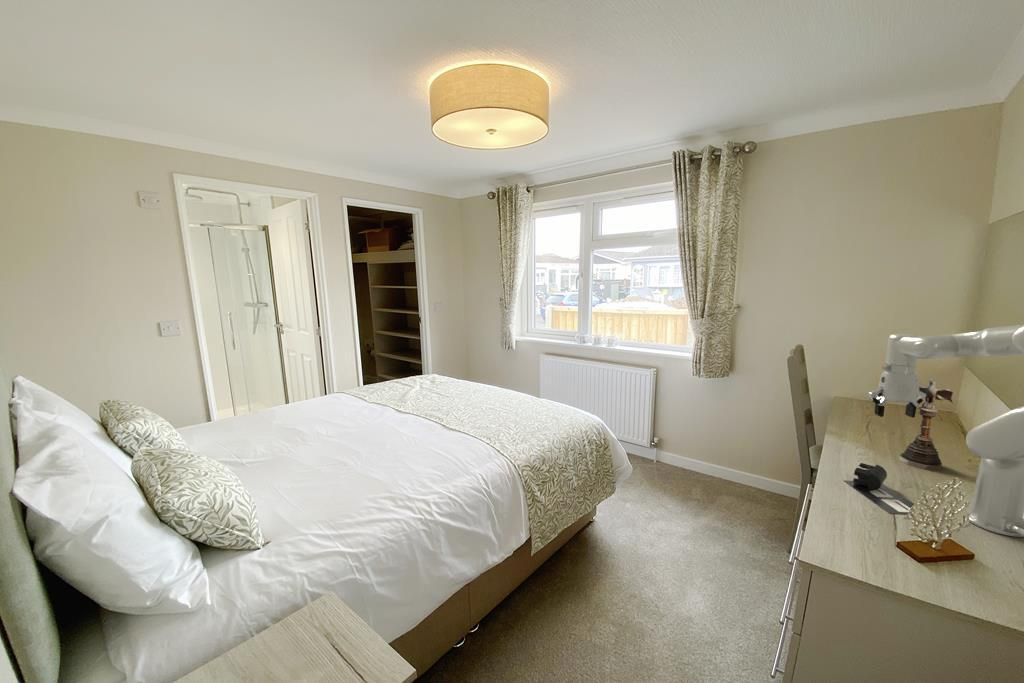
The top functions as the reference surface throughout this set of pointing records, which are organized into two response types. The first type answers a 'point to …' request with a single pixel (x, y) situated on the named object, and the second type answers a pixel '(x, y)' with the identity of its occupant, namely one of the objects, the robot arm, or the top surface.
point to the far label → (880, 493)
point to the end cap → (869, 477)
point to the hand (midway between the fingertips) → (894, 415)
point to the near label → (897, 505)
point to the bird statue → (926, 432)
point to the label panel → (881, 503)
